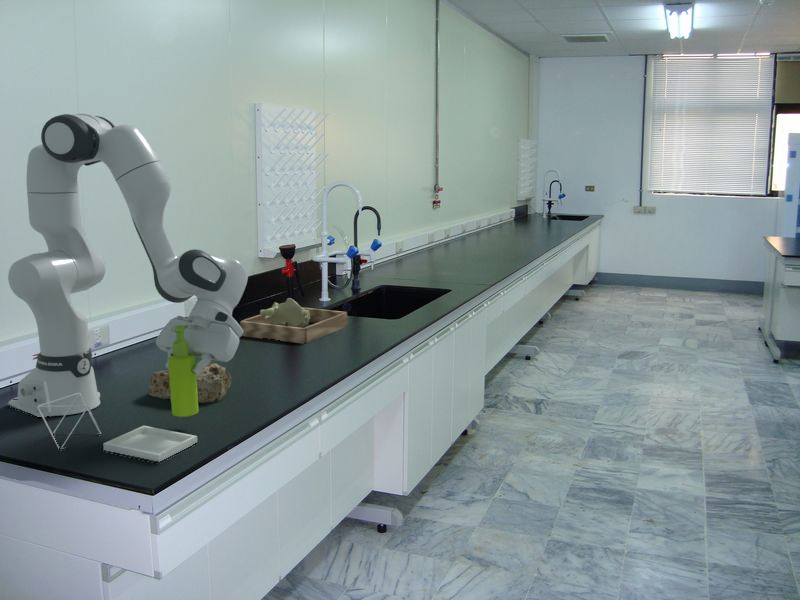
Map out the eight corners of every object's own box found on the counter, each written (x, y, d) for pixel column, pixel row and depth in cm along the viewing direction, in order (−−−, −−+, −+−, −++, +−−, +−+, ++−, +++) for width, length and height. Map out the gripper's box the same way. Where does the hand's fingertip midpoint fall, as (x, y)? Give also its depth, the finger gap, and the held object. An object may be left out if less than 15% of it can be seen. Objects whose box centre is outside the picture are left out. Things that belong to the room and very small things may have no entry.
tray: (103, 451, 162) (103, 443, 162) (144, 433, 173) (143, 425, 172) (159, 463, 156) (158, 455, 156) (197, 443, 167) (197, 436, 166)
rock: (141, 403, 196) (141, 364, 197) (176, 399, 210) (176, 363, 211) (209, 404, 189) (209, 363, 190) (241, 400, 203) (241, 362, 204)
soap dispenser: (202, 406, 179) (196, 323, 175) (195, 416, 172) (189, 329, 169) (176, 407, 179) (170, 323, 175) (169, 417, 172) (162, 330, 168)
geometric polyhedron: (96, 427, 176) (93, 389, 175) (106, 442, 167) (103, 402, 165) (37, 438, 170) (33, 398, 168) (43, 454, 161) (40, 412, 159)
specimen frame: (239, 335, 264) (238, 321, 263) (287, 318, 291) (287, 305, 291) (305, 343, 254) (304, 329, 253) (348, 325, 281) (348, 312, 280)
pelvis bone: (268, 314, 284) (300, 292, 284) (288, 345, 281) (321, 322, 281) (252, 308, 264) (287, 283, 264) (274, 341, 262) (309, 316, 262)
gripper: (166, 307, 182) (138, 357, 175) (237, 317, 174) (211, 370, 167) (179, 322, 187) (153, 371, 180) (249, 332, 178) (224, 384, 172)
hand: (181, 370), depth 173 cm, fingers closed on soap dispenser, 6 cm apart
